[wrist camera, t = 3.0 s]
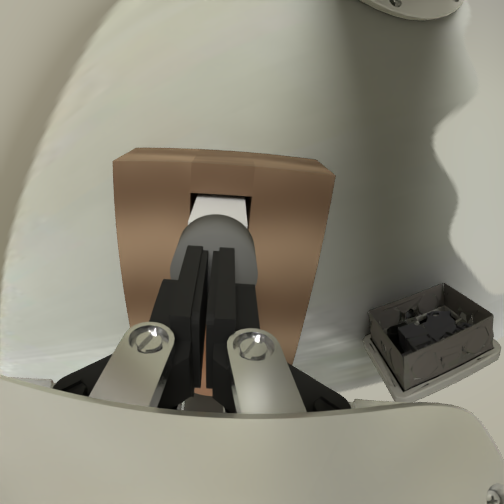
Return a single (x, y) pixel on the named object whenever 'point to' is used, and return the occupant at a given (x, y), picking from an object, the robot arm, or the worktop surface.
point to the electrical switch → (430, 342)
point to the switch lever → (219, 235)
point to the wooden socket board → (258, 220)
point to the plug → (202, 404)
